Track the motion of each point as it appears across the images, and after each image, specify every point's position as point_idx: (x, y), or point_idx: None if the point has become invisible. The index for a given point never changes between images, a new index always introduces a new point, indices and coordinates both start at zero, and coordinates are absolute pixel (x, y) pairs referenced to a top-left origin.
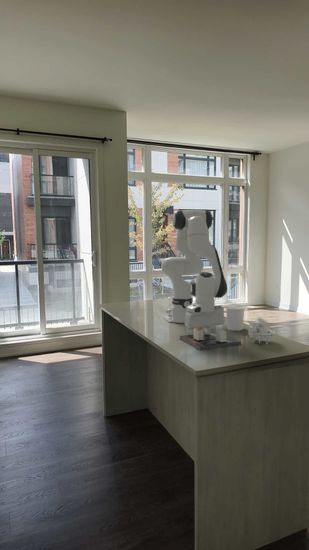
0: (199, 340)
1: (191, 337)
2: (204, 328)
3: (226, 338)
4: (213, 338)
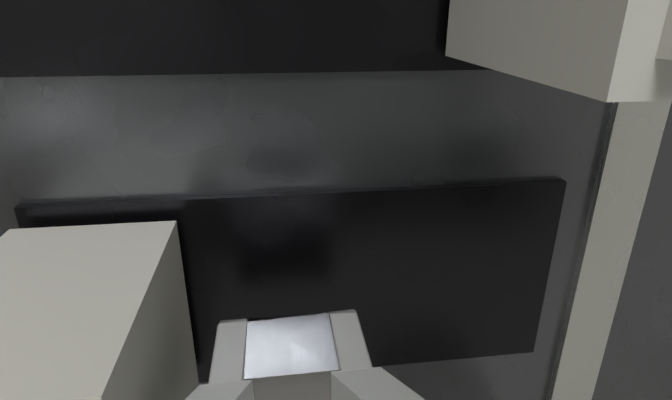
0: None
1: (2, 78)
2: (539, 37)
3: (658, 361)
4: (455, 327)
